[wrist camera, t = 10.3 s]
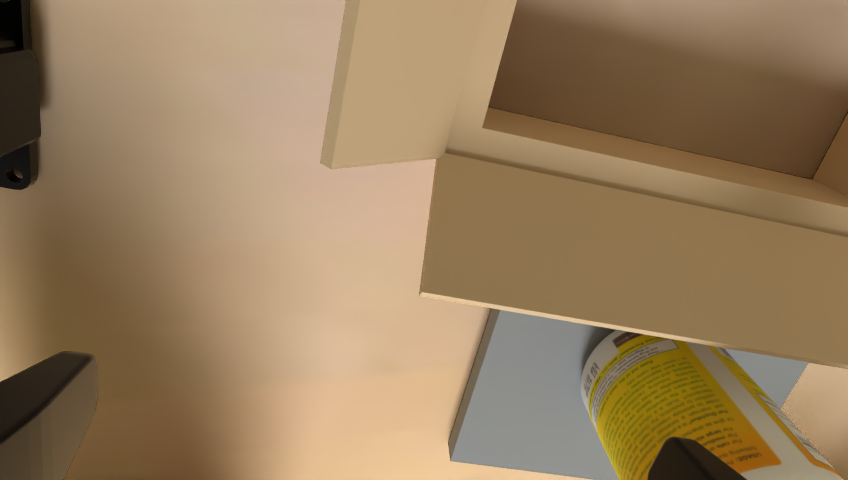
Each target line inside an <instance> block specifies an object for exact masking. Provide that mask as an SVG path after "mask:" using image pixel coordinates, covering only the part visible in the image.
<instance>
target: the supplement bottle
mask: <svg viewBox="0 0 848 480" xmlns="http://www.w3.org/2000/svg"><path fill="white" fill-rule="evenodd" d="M581 394H582V398H583V402H584V405H585V408H586V410H587V412H588V415H589V417H590V419H591V421H592V423H593V425H594V427H595V430H596V432H597V434H598V436H599V438H600V440H601V442H602V445H603V447H604V449H605V451H606V453H607V455H608V457H609V459H610V462H611V464H612V466H613V468H614V470H615V472H616V474H617V476H618V479H619V480H647V477H648V472H649V469H650V467H651V465H652V464H653V462H654V460H655V458H656V456H657V454H658V452H659V451H660V449H661V447H662V445H663V443H664V442H665V440H666V439H668V438H669V437H674V436H675V437H682V438H689V439H693V440H695V441H697V442H698V443H700V444H701V445H702V446H704V447H705V448H706V449H708V450H709V451H710V452H712V453H713V454H714V455H716V456H717V457H718V458H719V459H721V460H722V461H723V462H725V463H726V464H727V465H729V466H730V467H731V468H733V469H734V470H735V471H737V472H738V473H739V474H741V475H742V476H743V477H745V478H746V479H747V480H844V479H843V477H842V476H841V475H840V474H839V473H838V472H837V471H836V470H835V469H834V468H833V467H832V466H831V464H830V463H829V462H828V461H827V460H826V459H825V458H824V457H823V456H822V455H821V454H820V453H819V452H818V450H817V449H816V448H815V447H814V446H813V445H812V444H811V443H810V442H809V440H808V439H807V438H806V437H805V436H804V435H803V434H802V433H801V432H800V431H799V430H798V428H797V427H796V426H795V425H794V424H793V423H792V422H791V421H790V420H789V418H788V417H787V416H786V415H785V414H784V413H783V412H782V411H781V410H780V409H779V407H778V406H777V405H776V404H775V403H774V402H773V401H772V400H771V399H770V398H769V396H768V395H767V394H766V393H765V392H764V391H763V390H762V389H761V388H760V387H759V386H758V385H757V384H756V382H755V381H754V380H753V379H752V378H751V377H750V376H749V375H748V374H747V373H746V371H745V370H744V369H743V368H742V367H741V366H740V365H739V364H738V363H737V362H736V361H735V360H734V359H733V357H732V356H731V355H730V354H729V353H728V352H727V351H726V350H725V349H724V348H722V347H716V346H710V345H704V344H698V343H692V342H686V341H681V340H675V339H669V338H663V337H657V336H651V335H645V334H640V333H634V332H628V331H622V330H615V331H614V332H612V333H611V334H609V335H608V336H607V337H606V338H605V339H603V340H602V341H601V342H600V343H599V344H598V346H597V347H596V348H595V349H594V350H593V352H592V353H591V355H590V356H589V358H588V360H587V362H586V364H585V367H584V370H583V373H582V378H581Z"/></svg>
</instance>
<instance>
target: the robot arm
mask: <svg viewBox="0 0 848 480" xmlns="http://www.w3.org/2000/svg"><path fill="white" fill-rule="evenodd" d="M40 136H41V124H40V103H39V82H38V62H37V58H36V57H35V56H34V54H33V53H32V47H31V28H30V9H29V0H9V1H8V0H0V187H4V188H9V189H15V190H22V189H24V188H27V187H29V186H30V185H32V184H34V183H35V181H36V180H37V177H38V163H37V144H36V139H38V138H39V137H40ZM13 168H16V169H18V170H19V171H20V172H21V173H22V175H23V179H22V178H19V177H17V176H16V175H15V174H14V171H13ZM97 370H98V365H97V360H96V357H95V356H93V355H92V354H87V353H80V352H73V351H63V352H60V353H58V354H56V355H54V356H52V357H50V358H48V359H46V360H44V361H42V362H40V363H38V364H36V365H33V366H31V367H29V368H27V369H25V370H23V371H21V372H19V373H17V374H15V375H13V376H11V377H9V378H7V379H5V380H3V381H1V382H0V480H64V478H65V476H66V473H67V471H68V469H69V467H70V465H71V463H72V461H73V458H74V456H75V454H76V452H77V450H78V448H79V446H80V443H81V441H82V439H83V437H84V435H85V433H86V431H87V428H88V426H89V424H90V422H91V420H92V418H93V415H94V412H95V409H96V405H97ZM647 480H747V479H746V478H745V477H743V476H742V475H741V474H739V473H738V472H737V471H735V470H734V469H733V468H731V467H730V466H729V465H727V464H726V463H725V462H723V461H722V460H721V459H719V458H718V457H717V456H716V455H714V454H713V453H712V452H710V451H709V450H708V449H706V448H705V447H704V446H702V445H701V444H700V443H698V442H697V441H695V440H693V439H689V438H682V437H675V436H674V437H669V438H668V439H666V440H665V442H664V443H663V445H662V447H661V449H660V451H659V452H658V454H657V456H656V458H655V460H654V462H653V464H652V465H651V467H650V469H649V472H648V477H647Z"/></svg>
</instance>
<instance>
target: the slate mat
mask: <svg viewBox="0 0 848 480" xmlns="http://www.w3.org/2000/svg"><path fill="white" fill-rule="evenodd" d="M615 330H616V329H610V328H604V327H598V326H593V325H587V324H581V323H575V322H569V321H563V320H557V319H551V318H546V317H540V316H534V315H528V314H522V313H516V312H510V311H505V310H499V309H493V308H492V309H491V312H490V315H489V318H488V321H487V325H486V328H485V331H484V334H483V337H482V340H481V343H480V346H479V349H478V352H477V356H476V359H475V362H474V365H473V368H472V371H471V374H470V377H469V380H468V383H467V386H466V390H465V393H464V396H463V399H462V402H461V405H460V408H459V411H458V414H457V417H456V421H455V424H454V427H453V430H452V433H451V436H450V439H449V442H448V446H449V454H450V461H454V462H462V463H470V464H477V465H485V466H493V467H501V468H509V469H516V470H524V471H532V472H540V473H548V474H555V475H563V476H571V477H579V478H587V479H594V480H619V479H618V476H617V474H616V472H615V470H614V468H613V466H612V464H611V462H610V459H609V457H608V455H607V453H606V451H605V449H604V447H603V445H602V442H601V440H600V438H599V436H598V434H597V432H596V430H595V427H594V425H593V423H592V421H591V419H590V417H589V415H588V412H587V410H586V408H585V405H584V402H583V398H582V394H581V378H582V373H583V370H584V367H585V364H586V362H587V360H588V358H589V356H590V355H591V353H592V352H593V350H594V349H595V348H596V347H597V346H598V344H599V343H600V342H601V341H602V340H603V339H605V338H606V337H607V336H608V335H609V334H611V333H612V332H614V331H615ZM724 349H725V350H726V351H727V352H728V353H729V354H730V355H731V356H732V357H733V359H734V360H735V361H736V362H737V363H738V364H739V365H740V366H741V367H742V368H743V369H744V370H745V371H746V373H747V374H748V375H749V376H750V377H751V378H752V379H753V380H754V381H755V382H756V384H757V385H758V386H759V387H760V388H761V389H762V390H763V391H764V392H765V393H766V394H767V395H768V396H769V398H770V399H771V400H772V401H773V402H774V403H775V404H776V405H777V406H778V407H779V409H780V408H781V407H782V405H783V403H784V402H785V400H786V399H787V397H788V395H789V394H790V392H791V391H792V389H793V387H794V386H795V384H796V382H797V381H798V379H799V378H800V376H801V374H802V373H803V371H804V369H805V368H806V366H807V365H808V363H809V362H804V361H798V360H792V359H786V358H780V357H775V356H769V355H763V354H757V353H751V352H745V351H739V350H733V349H728V348H724Z"/></svg>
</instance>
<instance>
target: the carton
mask: <svg viewBox="0 0 848 480" xmlns="http://www.w3.org/2000/svg"><path fill="white" fill-rule="evenodd" d="M516 2H517V0H346V4H345V11H344V17H343V23H342V30H341V36H340V42H339V48H338V55H337V61H336V67H335V73H334V80H333V86H332V92H331V98H330V105H329V111H328V117H327V123H326V130H325V136H324V142H323V148H322V155H321V161H320V163H321V164H323V165H325V166H327V167H329V168H330V169H338V168H348V167H358V166H368V165H378V164H388V163H398V162H408V161H418V160H428V159H436V166H435V174H434V181H433V189H432V197H431V205H430V213H429V221H428V229H427V237H426V245H425V253H424V261H423V268H422V276H421V284H420V292H419V296H422V297H428V298H434V299H440V300H446V301H452V302H458V303H463V304H469V305H475V306H481V307H487V308H493V309H499V310H505V311H510V312H516V313H522V314H528V315H534V316H540V317H546V318H551V319H557V320H563V321H569V322H575V323H581V324H587V325H593V326H598V327H604V328H610V329H616V330H622V331H628V332H634V333H640V334H645V335H651V336H657V337H663V338H669V339H675V340H681V341H686V342H692V343H698V344H704V345H710V346H716V347H722V348H728V349H733V350H739V351H745V352H751V353H757V354H763V355H769V356H775V357H780V358H786V359H792V360H798V361H804V362H810V363H816V364H822V365H827V366H833V367H839V368H845V369H848V114H847V116H846V117H845V119H844V121H843V123H842V125H841V127H840V129H839V131H838V132H837V134H836V136H835V138H834V140H833V142H832V144H831V146H830V147H829V149H828V151H827V153H826V155H825V157H824V159H823V160H822V162H821V164H820V166H819V168H818V170H817V172H816V174H815V175H814V177H813V179H812V180H811V179H807V178H802V177H798V176H793V175H789V174H784V173H780V172H775V171H771V170H766V169H762V168H757V167H753V166H749V165H744V164H740V163H735V162H731V161H726V160H722V159H717V158H713V157H708V156H704V155H699V154H695V153H690V152H686V151H682V150H677V149H673V148H668V147H664V146H659V145H655V144H650V143H646V142H641V141H637V140H632V139H628V138H623V137H619V136H615V135H610V134H606V133H601V132H597V131H592V130H588V129H583V128H579V127H574V126H570V125H565V124H561V123H556V122H552V121H548V120H543V119H539V118H534V117H530V116H525V115H521V114H516V113H512V112H507V111H503V110H498V109H494V108H489V107H488V105H489V101H490V97H491V94H492V90H493V86H494V83H495V79H496V75H497V72H498V68H499V65H500V61H501V57H502V54H503V50H504V46H505V43H506V39H507V35H508V32H509V28H510V24H511V21H512V17H513V13H514V10H515V6H516Z"/></svg>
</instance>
